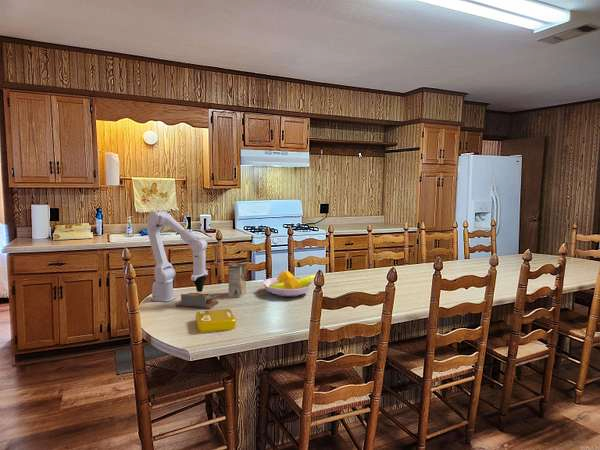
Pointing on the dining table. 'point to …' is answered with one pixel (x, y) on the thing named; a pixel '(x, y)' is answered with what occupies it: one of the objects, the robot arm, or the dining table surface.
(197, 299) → the bookend
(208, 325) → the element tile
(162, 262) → the robot arm
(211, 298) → the tin
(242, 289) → the coffee box
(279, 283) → the fruit bowl
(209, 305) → the shelf board
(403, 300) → the dining table surface
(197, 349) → the dining table surface
